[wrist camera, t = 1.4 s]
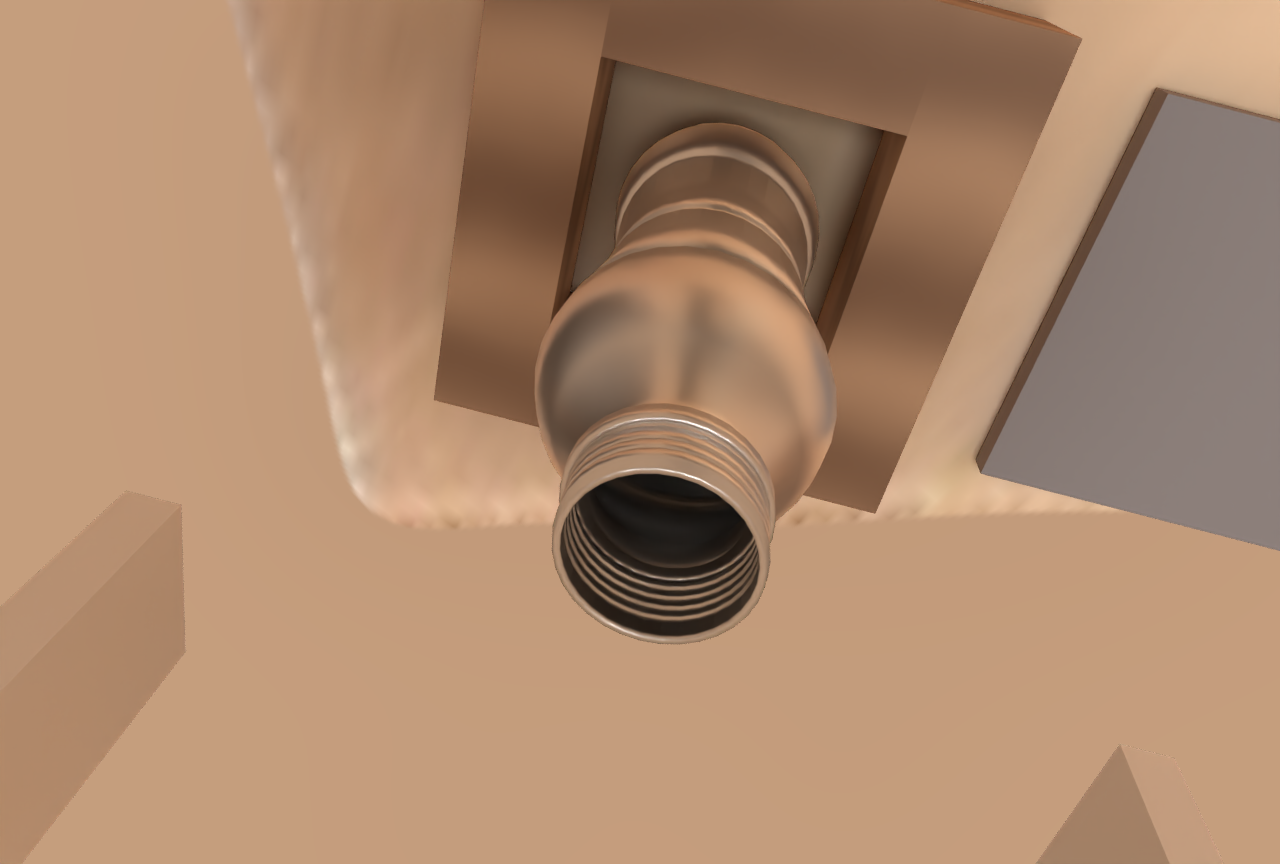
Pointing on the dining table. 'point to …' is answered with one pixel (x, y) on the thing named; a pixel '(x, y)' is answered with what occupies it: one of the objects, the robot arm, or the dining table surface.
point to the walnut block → (781, 72)
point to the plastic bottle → (687, 389)
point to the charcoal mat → (1165, 336)
